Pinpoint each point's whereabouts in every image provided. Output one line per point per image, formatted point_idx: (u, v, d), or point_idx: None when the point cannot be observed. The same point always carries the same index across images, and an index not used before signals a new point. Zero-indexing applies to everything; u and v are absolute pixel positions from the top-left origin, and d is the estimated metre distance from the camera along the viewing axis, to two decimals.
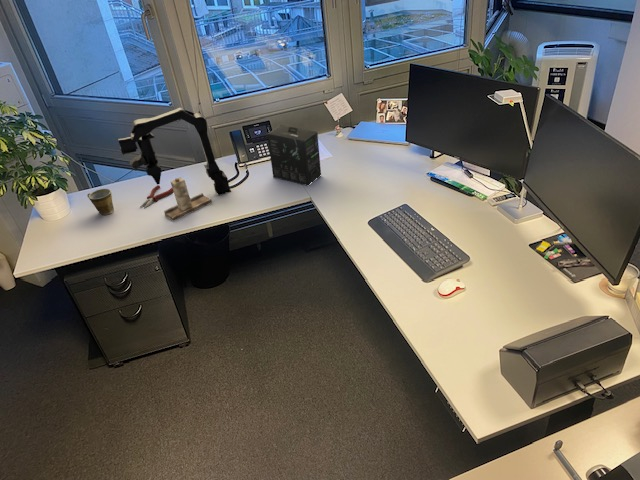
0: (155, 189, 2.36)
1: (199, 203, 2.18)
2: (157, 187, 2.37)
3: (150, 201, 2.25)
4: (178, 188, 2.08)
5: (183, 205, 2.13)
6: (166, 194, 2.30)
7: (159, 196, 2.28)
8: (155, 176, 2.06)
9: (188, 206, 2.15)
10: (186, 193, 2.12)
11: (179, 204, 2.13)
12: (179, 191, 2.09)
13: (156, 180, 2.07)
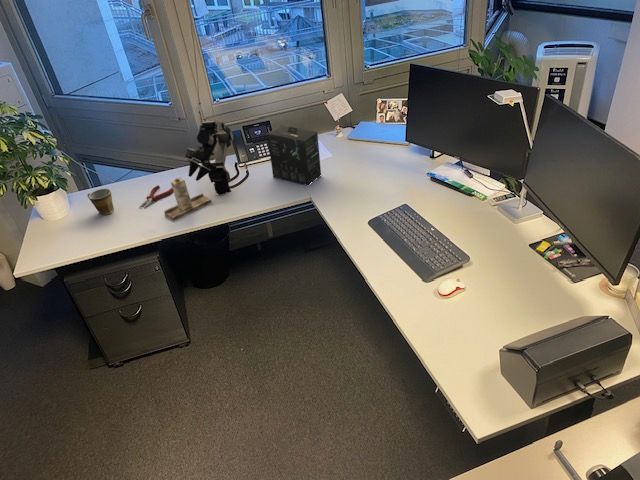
0: (155, 189, 2.35)
1: (199, 203, 2.18)
2: (157, 187, 2.37)
3: (149, 201, 2.25)
4: (178, 188, 2.08)
5: (183, 205, 2.13)
6: (165, 194, 2.30)
7: (158, 196, 2.28)
8: (202, 172, 2.11)
9: (188, 206, 2.15)
10: (186, 193, 2.12)
11: (179, 204, 2.13)
12: (179, 191, 2.09)
13: (199, 176, 2.11)
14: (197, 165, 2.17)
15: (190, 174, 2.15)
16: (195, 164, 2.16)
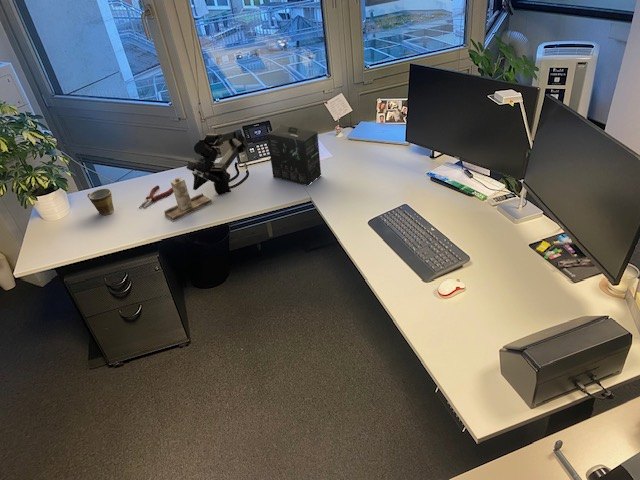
0: (154, 189, 2.35)
1: (199, 203, 2.18)
2: (156, 187, 2.36)
3: (149, 202, 2.24)
4: (178, 188, 2.08)
5: (183, 205, 2.13)
6: (165, 195, 2.30)
7: (158, 197, 2.28)
8: (199, 181, 2.15)
9: (188, 206, 2.15)
10: (186, 193, 2.12)
11: (179, 204, 2.13)
12: (179, 191, 2.09)
13: (197, 185, 2.15)
14: None
15: None
16: None
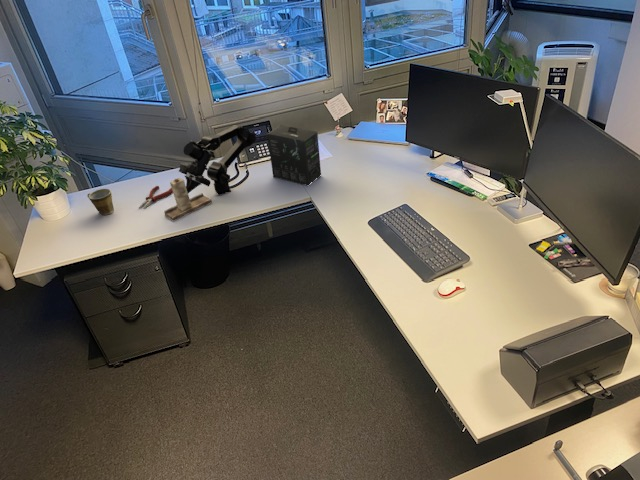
0: (154, 190, 2.35)
1: (199, 203, 2.18)
2: (156, 188, 2.36)
3: (149, 202, 2.24)
4: (177, 188, 2.08)
5: (183, 206, 2.13)
6: (165, 195, 2.30)
7: (158, 197, 2.28)
8: (192, 185, 2.13)
9: (187, 206, 2.15)
10: (185, 193, 2.12)
11: (178, 204, 2.13)
12: (178, 191, 2.09)
13: (189, 188, 2.13)
14: None
15: (187, 190, 2.14)
16: None
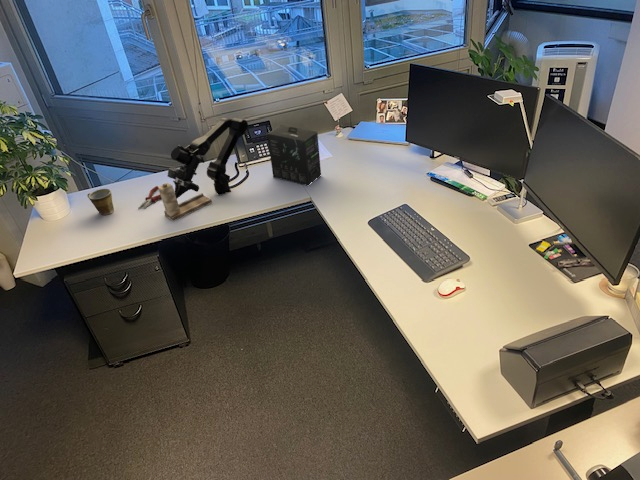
0: (154, 190, 2.35)
1: (199, 203, 2.18)
2: (156, 188, 2.36)
3: (148, 202, 2.24)
4: (166, 194, 2.05)
5: (171, 211, 2.10)
6: None
7: (157, 197, 2.28)
8: (180, 190, 2.10)
9: (176, 212, 2.12)
10: (174, 199, 2.08)
11: (167, 210, 2.10)
12: (167, 197, 2.06)
13: (178, 194, 2.10)
14: None
15: (176, 196, 2.11)
16: None
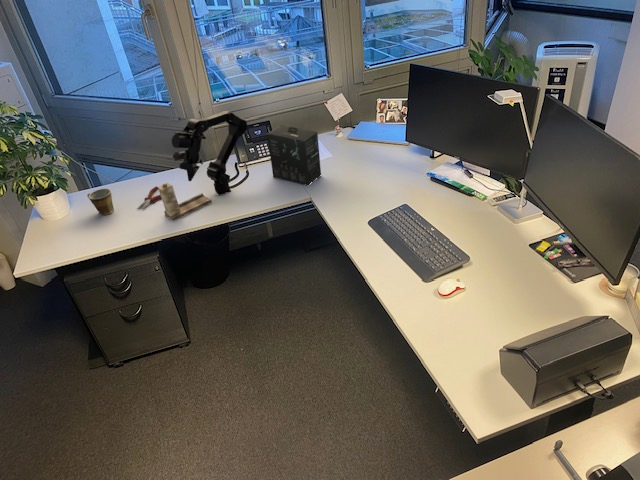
0: (153, 190, 2.34)
1: (199, 203, 2.18)
2: (155, 188, 2.36)
3: (147, 203, 2.24)
4: (166, 194, 2.05)
5: (171, 211, 2.10)
6: None
7: (157, 198, 2.27)
8: (189, 172, 2.11)
9: (176, 212, 2.12)
10: (174, 199, 2.08)
11: (167, 210, 2.10)
12: (167, 197, 2.06)
13: (189, 176, 2.12)
14: (195, 168, 2.12)
15: None
16: None
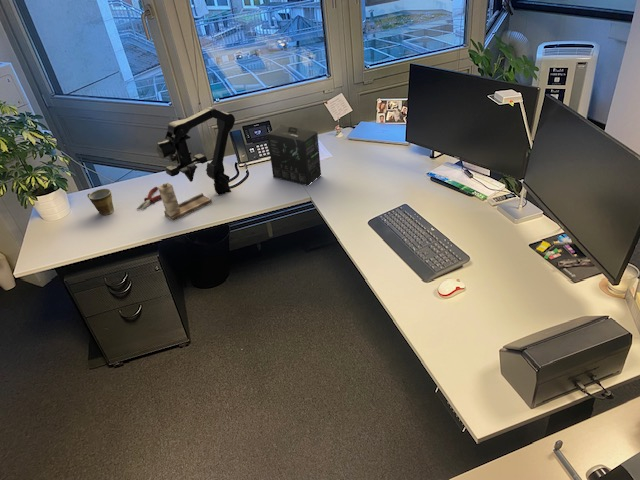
0: (153, 191, 2.34)
1: (199, 203, 2.18)
2: (155, 189, 2.36)
3: (147, 203, 2.24)
4: (166, 194, 2.05)
5: (171, 211, 2.10)
6: None
7: (156, 198, 2.27)
8: (186, 173, 2.12)
9: (176, 212, 2.12)
10: (174, 199, 2.08)
11: (167, 210, 2.10)
12: (167, 197, 2.06)
13: (187, 177, 2.13)
14: (190, 169, 2.11)
15: None
16: (189, 168, 2.11)
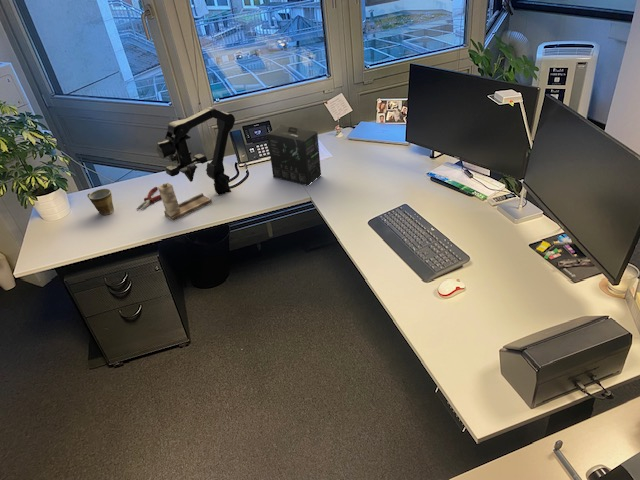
0: (152, 191, 2.34)
1: (199, 203, 2.18)
2: (155, 189, 2.35)
3: (147, 203, 2.23)
4: (166, 194, 2.05)
5: (171, 211, 2.10)
6: None
7: (156, 198, 2.27)
8: (186, 173, 2.12)
9: (176, 212, 2.12)
10: (174, 199, 2.08)
11: (167, 210, 2.10)
12: (167, 197, 2.06)
13: (187, 177, 2.13)
14: (190, 169, 2.11)
15: None
16: (189, 168, 2.11)
